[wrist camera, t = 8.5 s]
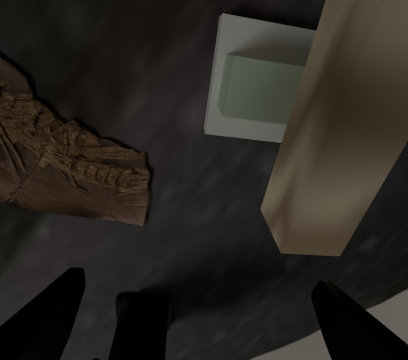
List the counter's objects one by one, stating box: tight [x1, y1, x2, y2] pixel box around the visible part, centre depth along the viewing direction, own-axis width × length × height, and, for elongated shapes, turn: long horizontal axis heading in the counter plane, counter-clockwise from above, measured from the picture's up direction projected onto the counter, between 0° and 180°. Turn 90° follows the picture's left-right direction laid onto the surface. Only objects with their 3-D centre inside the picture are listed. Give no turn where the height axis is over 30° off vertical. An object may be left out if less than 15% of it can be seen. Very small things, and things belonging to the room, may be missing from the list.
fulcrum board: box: [204, 14, 316, 143], centre depth 15 cm, size 7×12×4 cm, turn 82°
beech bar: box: [261, 0, 408, 256], centre depth 11 cm, size 15×4×4 cm, turn 172°
